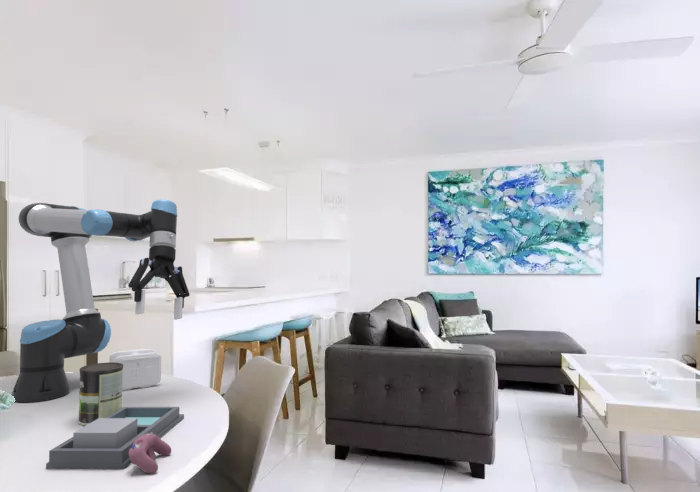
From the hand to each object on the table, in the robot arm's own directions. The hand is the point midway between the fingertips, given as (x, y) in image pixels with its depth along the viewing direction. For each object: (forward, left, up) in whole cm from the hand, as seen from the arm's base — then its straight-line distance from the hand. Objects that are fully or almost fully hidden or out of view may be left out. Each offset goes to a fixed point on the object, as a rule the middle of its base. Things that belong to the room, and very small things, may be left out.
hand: (159, 316), depth 130 cm
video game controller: (+15, -37, -27) cm, 48 cm away
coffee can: (-11, -10, -27) cm, 30 cm away
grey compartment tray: (+3, -24, -26) cm, 36 cm away
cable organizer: (-19, +24, -27) cm, 40 cm away
